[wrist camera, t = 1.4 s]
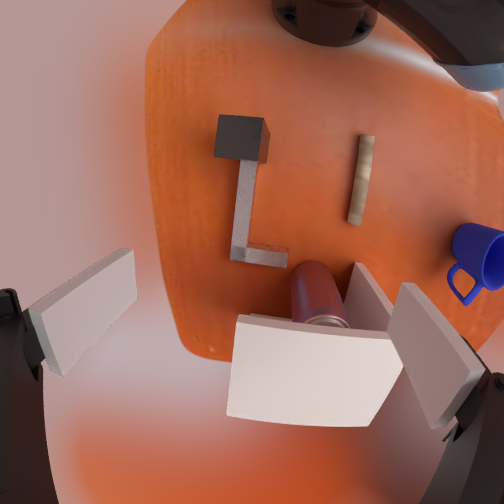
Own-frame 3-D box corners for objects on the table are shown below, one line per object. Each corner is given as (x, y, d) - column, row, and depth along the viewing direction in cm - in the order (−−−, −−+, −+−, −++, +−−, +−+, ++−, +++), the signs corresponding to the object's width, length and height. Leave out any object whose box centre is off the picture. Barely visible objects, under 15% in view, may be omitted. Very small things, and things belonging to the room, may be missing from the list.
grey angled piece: (239, 130, 34) (219, 114, 22) (304, 138, 33) (314, 125, 22) (226, 252, 39) (203, 288, 28) (286, 261, 38) (286, 302, 27)
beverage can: (285, 265, 39) (285, 323, 24) (326, 254, 37) (349, 306, 23) (296, 301, 40) (300, 369, 26) (335, 291, 39) (357, 354, 25)
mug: (423, 265, 36) (455, 293, 27) (465, 206, 32) (504, 220, 23) (448, 292, 37) (478, 321, 27) (487, 238, 33) (523, 256, 24)
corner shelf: (259, 247, 38) (236, 322, 20) (362, 263, 37) (415, 340, 19) (249, 319, 42) (226, 415, 24) (342, 331, 41) (367, 426, 23)
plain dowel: (376, 138, 31) (362, 136, 32) (373, 135, 30) (359, 133, 31) (362, 224, 35) (349, 221, 36) (359, 226, 34) (345, 222, 35)
